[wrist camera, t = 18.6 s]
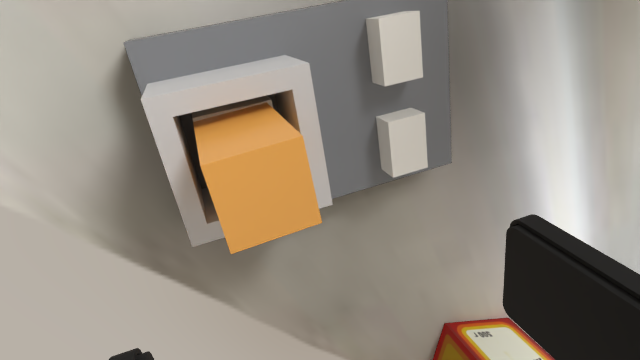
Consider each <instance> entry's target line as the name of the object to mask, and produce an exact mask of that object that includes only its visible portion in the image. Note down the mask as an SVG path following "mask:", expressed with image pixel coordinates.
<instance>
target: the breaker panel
mask: <svg viewBox="0 0 640 360" xmlns="http://www.w3.org/2000/svg"><path fill="white" fill-rule="evenodd" d="M124 46H125V49H126V52H127V55H128V57H129V60H130V63H131V66H132V69H133V72H134V75H135V78H136V81H137V83H138V86H139V89H140V92H141V95H142V98H141V102H142V105H143V108H144V110H145V113H146V116H147V119H148V122H149V125H150V128H151V130H152V133H153V136H154V139H155V142H156V145H157V148H158V151H159V153H160V156H161V159H162V162H163V165H164V168H165V171H166V173H167V176H168V179H169V182H170V185H171V188H172V191H173V194H174V196H175V199H176V202H177V205H178V208H179V211H180V214H181V217H182V219H183V222H184V225H185V228H186V231H187V234H188V237H189V239H190V242H191V245H192V247H195V246H198V245H202V244H205V243H208V242H212V241H215V240H218V239H221V238H225V236H224V233H223V230H222V227H221V224H220V221H219V218H218V215H217V213H216V210H215V207H214V204H213V201H212V198H211V195H210V192H209V189H208V187H207V184H206V181H205V178H204V175H203V172H202V169H201V166H200V161H199V155H198V149H197V143H196V137H195V131H194V125H193V119H192V114H191V113H192V112H196V111H201V110H205V109H209V108H214V107H218V106H222V105H227V104H231V103H236V102H240V101H244V100H249V99H253V98H257V97H262V96H267V97H269V98H270V99H271V100H272V105H273V109H274V110H275V111H277V112H278V113H279V114H280V115H281V116H282V117H283V118H284V119H285V120H286V121H287V122H288V123H290V124H291V125H292V126H293V127H294V128H295V129H296V130H297V131H298V132H299V133H300V134H301V135H302V136H303V139H304V143H305V148H306V152H307V157H308V162H309V166H310V171H311V175H312V180H313V184H314V189H315V193H316V198H317V202H318V207H319V209H320V208H323V207H326V206H330V205H333V203H332V199H333V198H337V197H340V196H343V195H347V194H350V193H353V192H357V191H360V190H363V189H367V188H370V187H373V186H377V185H380V184H383V183H387V182H390V181H393V180H396V179H400V178H403V177H406V176H410V175H413V174H416V173H420V172H423V171H426V170H430V169H433V168H436V167H440V166H443V165H446V164H450V163H452V159H451V120H450V81H449V42H448V3H447V0H345V1H339V2H334V3H328V4H323V5H317V6H312V7H307V8H301V9H296V10H290V11H285V12H279V13H274V14H268V15H263V16H257V17H252V18H247V19H241V20H236V21H230V22H225V23H219V24H214V25H208V26H203V27H198V28H192V29H187V30H181V31H176V32H170V33H165V34H159V35H154V36H148V37H143V38H138V39H132V40H128V41H126V42H124Z"/></svg>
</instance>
